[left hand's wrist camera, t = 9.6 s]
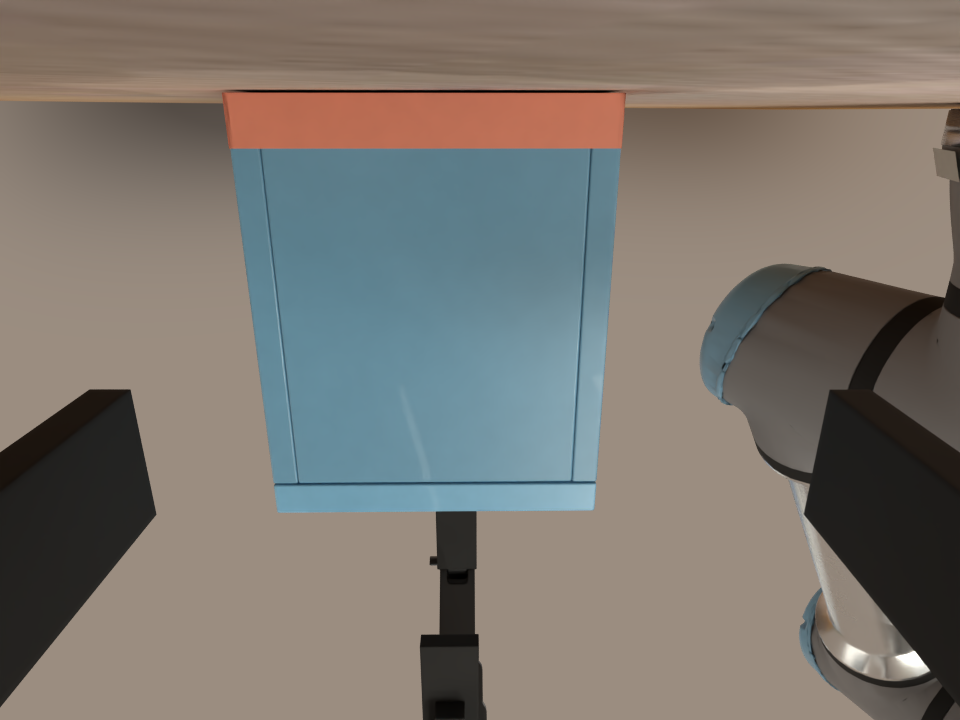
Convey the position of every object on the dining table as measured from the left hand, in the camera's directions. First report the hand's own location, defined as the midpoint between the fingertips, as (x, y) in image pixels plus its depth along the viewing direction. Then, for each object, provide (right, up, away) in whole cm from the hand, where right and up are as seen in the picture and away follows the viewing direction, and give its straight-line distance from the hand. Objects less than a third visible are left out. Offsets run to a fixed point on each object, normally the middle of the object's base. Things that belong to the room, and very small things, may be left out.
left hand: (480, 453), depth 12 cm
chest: (-1, +11, +10) cm, 15 cm away
